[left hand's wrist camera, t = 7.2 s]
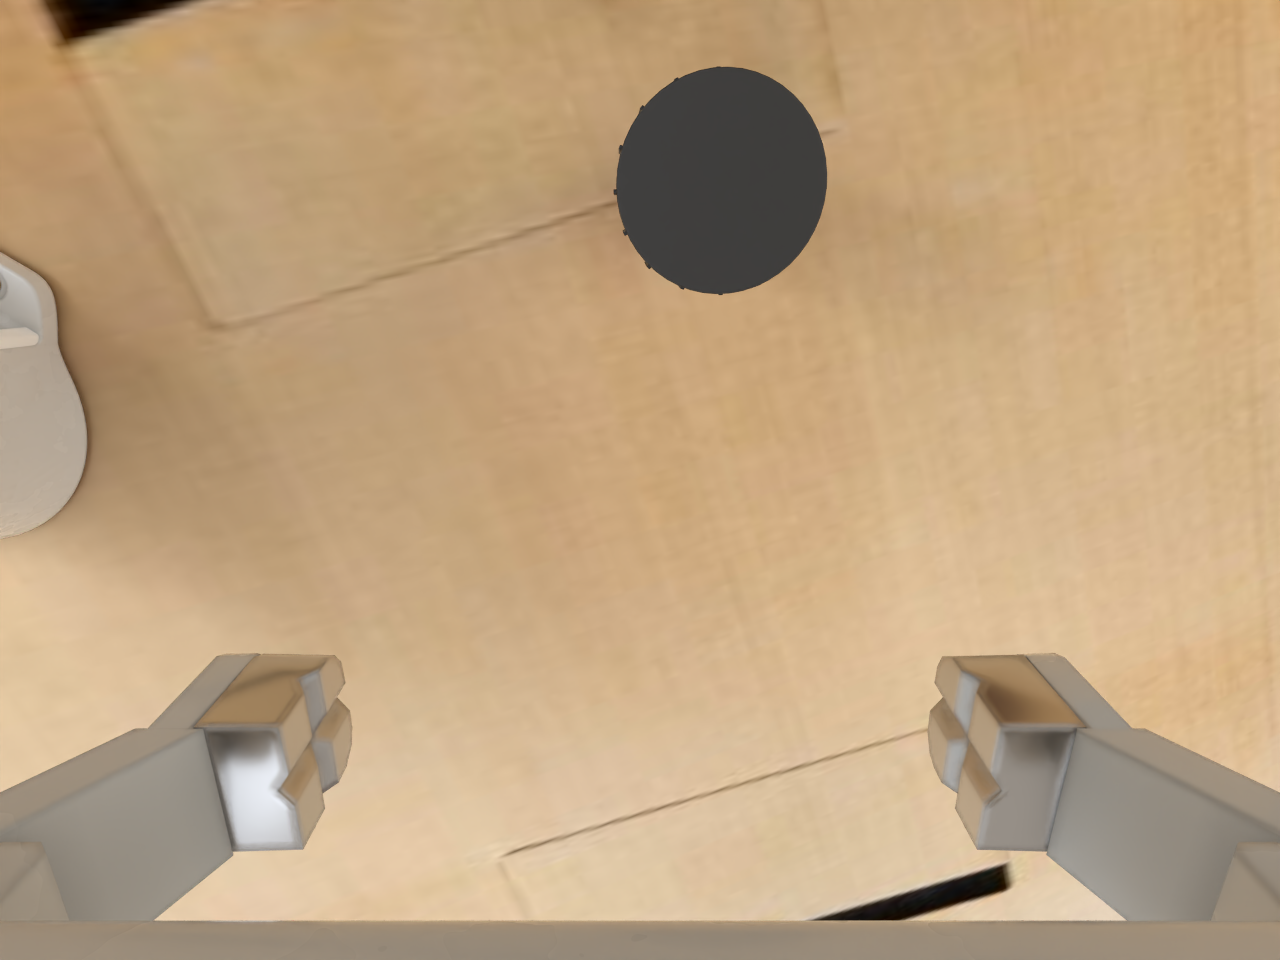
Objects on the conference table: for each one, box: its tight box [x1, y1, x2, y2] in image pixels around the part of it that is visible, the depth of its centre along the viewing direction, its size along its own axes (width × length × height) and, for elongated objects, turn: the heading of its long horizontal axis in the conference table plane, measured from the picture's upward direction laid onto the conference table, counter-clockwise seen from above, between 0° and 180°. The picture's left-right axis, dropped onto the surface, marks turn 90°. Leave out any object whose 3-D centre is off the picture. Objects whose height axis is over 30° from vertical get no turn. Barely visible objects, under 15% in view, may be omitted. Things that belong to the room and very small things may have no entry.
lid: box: [614, 67, 827, 295], centre depth 21 cm, size 6×6×2 cm
